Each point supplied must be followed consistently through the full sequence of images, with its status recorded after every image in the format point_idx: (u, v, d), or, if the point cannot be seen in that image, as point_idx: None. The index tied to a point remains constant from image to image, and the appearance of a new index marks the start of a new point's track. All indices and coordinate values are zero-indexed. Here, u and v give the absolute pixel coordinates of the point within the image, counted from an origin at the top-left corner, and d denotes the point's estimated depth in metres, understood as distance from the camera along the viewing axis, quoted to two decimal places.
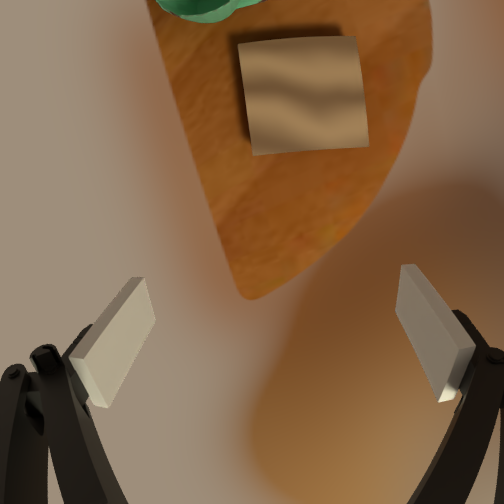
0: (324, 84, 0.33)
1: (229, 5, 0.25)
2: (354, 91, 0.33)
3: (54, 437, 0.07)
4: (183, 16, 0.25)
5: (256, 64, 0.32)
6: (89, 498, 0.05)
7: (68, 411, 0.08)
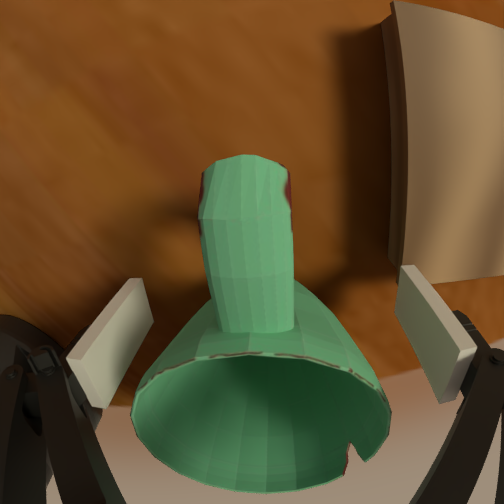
0: None
1: (375, 375, 0.10)
2: None
3: (52, 438, 0.07)
4: (367, 454, 0.11)
5: (452, 249, 0.14)
6: (87, 499, 0.05)
7: (66, 412, 0.08)
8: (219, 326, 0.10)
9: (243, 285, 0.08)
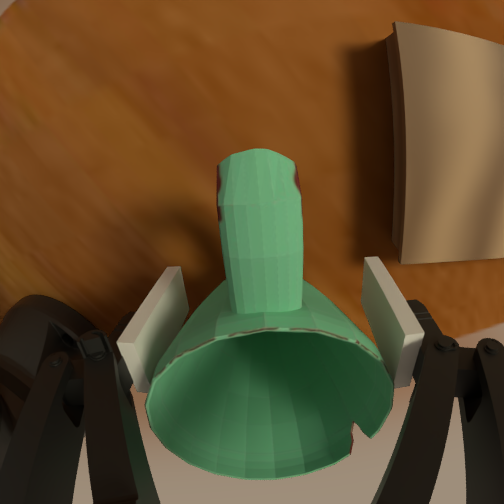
0: (493, 112, 0.13)
1: (377, 349, 0.11)
2: (499, 59, 0.12)
3: (92, 425, 0.07)
4: None
5: (446, 232, 0.16)
6: (119, 492, 0.05)
7: (111, 400, 0.08)
8: (233, 308, 0.10)
9: (260, 265, 0.09)
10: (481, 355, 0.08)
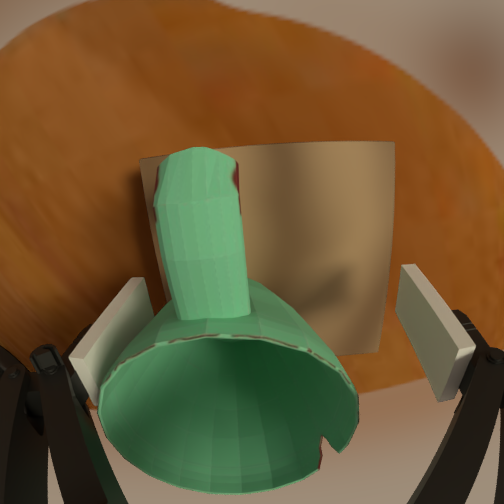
0: (256, 230, 0.18)
1: (336, 358, 0.10)
2: (269, 165, 0.16)
3: (54, 437, 0.07)
4: None
5: None
6: (89, 498, 0.05)
7: (68, 411, 0.08)
8: (178, 314, 0.10)
9: (197, 268, 0.08)
10: None
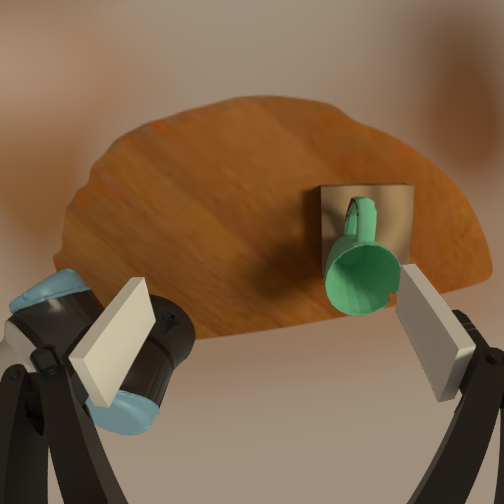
0: None
1: (395, 256, 0.36)
2: (370, 193, 0.42)
3: (54, 437, 0.07)
4: (396, 291, 0.37)
5: None
6: (89, 498, 0.05)
7: (68, 411, 0.08)
8: (356, 240, 0.36)
9: (366, 227, 0.35)
10: None
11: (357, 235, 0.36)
